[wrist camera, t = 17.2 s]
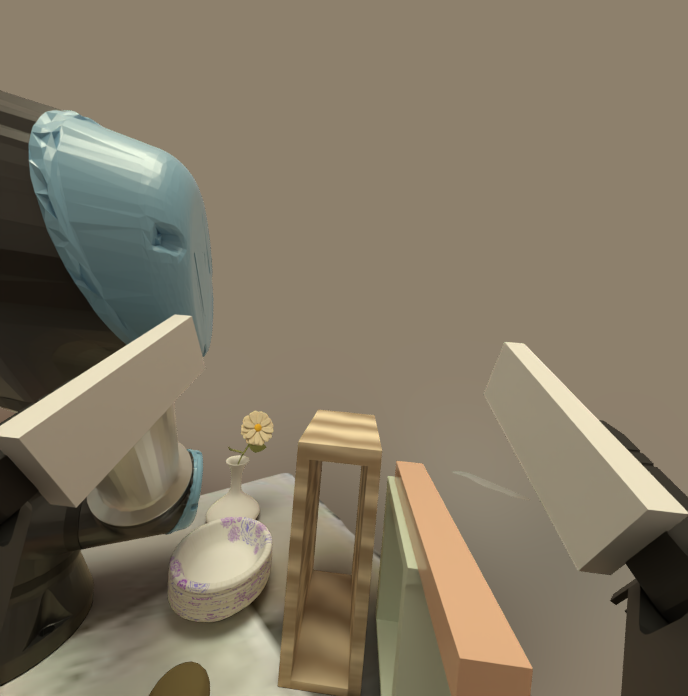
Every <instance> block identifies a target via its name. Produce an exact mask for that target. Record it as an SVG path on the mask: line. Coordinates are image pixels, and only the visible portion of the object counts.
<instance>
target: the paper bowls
mask: <svg viewBox="0 0 688 696" xmlns="http://www.w3.org/2000/svg"><path fill="white" fill-rule="evenodd" d="M272 545H273V542H272V537H271V534H270V531H269V530H268V528H267V527H266V526H265V525H264V524H262V523H261V522H259V521H257V520H254V519H251V518H247V517H227V518H222V519H218V520H215V521H212V522H209V523H207V524H204V525H202V526H200V527H199V528H197V529H195V530H194V531H192V532H191V533H190V534H188V535H187V536H186V537H185V538H184V539H183V540H182V541H181V542H180V543H179V544H178V546H177V547H176V549H175V550H174V552H173V554H172V556H171V558H170V563H169V572H168V573H169V575H168V601H169V604H170V606H171V608H172V609H173V611H174V612H175V613H176V614H178V615H179V616H181V617H182V618H185V619H186V620H188V619H189V620H191V621H196V622H215V621H220V620H223V619H226V618H228V617H230V616H232V615H233V614H235V613H237V612H239V611H240V610H242V609H243V608H245V607H246V606H248V605H249V604H250V603H251V602H253V601H254V600H255V599H256V598H257V597H258V596H259V594H260V593H261V592H262V590H263V588H264V587H265V585H266V583H267V581H268V578H269V574H270V569H271V560H272Z"/></svg>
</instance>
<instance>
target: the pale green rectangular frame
mask: <svg viewBox="0 0 688 696" xmlns="http://www.w3.org/2000/svg"><path fill="white" fill-rule="evenodd" d="M375 614H376V630H377V647H378V663H379V679H380V695H381V696H451V693H450V689H449V685H448V681H447V677H446V674H445V670H444V666H443V662H442V658H441V655H440V651H439V647H438V643H437V639H436V636H435V632H434V628H433V624H432V620H431V617H430V613H429V609H428V605H427V601H426V598H425V594H424V590H423V586H422V582H421V579H420V575H419V571H418V567H417V563H416V560H415V556H414V552H413V548H412V544H411V541H410V537H409V533H408V529H407V525H406V522H405V518H404V514H403V510H402V506H401V503H400V499H399V495H398V491H397V487H396V484H395V477H391V476H388V480H387V493H386V504H385V515H384V527H383V537H382V548H381V559H380V570H379V581H378V593H377V604H376V612H375Z"/></svg>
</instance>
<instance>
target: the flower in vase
mask: <svg viewBox="0 0 688 696" xmlns="http://www.w3.org/2000/svg"><path fill="white" fill-rule="evenodd" d="M241 428H242V429H241V435H244V436H243V438H244V439H246V443H249V444H248V446H247V448H248V447H250V449H251V450H252V451H253V452H255V453H256V452H260V451H262V450H264V449H265V448H266V446H265V445H264V443H265V441H266V442H268V440H269V438H271V437H272V433H273V429H272V428H273V423H272V422H271V419H270V418H268V415H267V414H266V413H263V412H262V411H260V412H258V411H254V412H252V413H250V414H249V416H246V417H244V420H243V425H242V426H241ZM249 445H250V446H249ZM228 448H229V447H228ZM247 448H246V449H245V451H244V452H241V451H238V450H233V449H231V448H229V450H231V451H235V452H239V453H243V454H242V455H240V456H239V455H238V456H232V457H230V458H228V459H227V460H226V463H227V464H228V466H229V468H230V472H231V486H230V490H229V492H228V493H227V494H226V495H225V496H223V497H222V498H220V499H219V500H217V501H216V502H215V503H214V504H213V505H212V506H211V507H210V508H209V510H208V512H207V514H206V522H207V523H209V522H212V521H215V520H218V519H222V518H227V517H247V518H251V519H254V520H255V519H256V518H257V516H258V515H259V512H260V508H259V505H258V503H257V501H256V500H255V499H253V498H252V497H251V496H249V495H247V494H245V493H244V492H243V491H242V489H241V480H242V474H243V471H244V468H245V466H246V464H247V463H248V462H249V460H250V459H249V458H248V457H246V456H243V455H244V453H245V452H246V450H247Z"/></svg>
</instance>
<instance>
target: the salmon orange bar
mask: <svg viewBox="0 0 688 696" xmlns="http://www.w3.org/2000/svg"><path fill="white" fill-rule="evenodd" d="M395 484H396V487H397V491H398V495H399V499H400V503H401V506H402V510H403V514H404V518H405V522H406V525H407V529H408V533H409V537H410V541H411V544H412V548H413V552H414V556H415V560H416V563H417V567H418V571H419V575H420V579H421V582H422V586H423V590H424V594H425V598H426V601H427V605H428V609H429V613H430V617H431V620H432V624H433V628H434V632H435V636H436V639H437V643H438V647H439V651H440V655H441V658H442V662H443V666H444V670H445V674H446V677H447V681H448V685H449V689H450V693H451V696H530V692H531V682H532V673H533V668H532V666H531V664H530V663H529V661H528V659H527V657H526V655H525V653H524V651H523V650H522V648H521V646H520V644H519V642H518V640H517V638H516V637H515V635H514V633H513V631H512V629H511V627H510V625H509V623H508V622H507V620H506V618H505V616H504V614H503V612H502V610H501V609H500V607H499V605H498V603H497V601H496V599H495V597H494V596H493V594H492V592H491V590H490V588H489V586H488V584H487V583H486V581H485V579H484V577H483V575H482V573H481V571H480V569H479V568H478V566H477V564H476V562H475V560H474V558H473V556H472V555H471V553H470V551H469V549H468V547H467V545H466V543H465V541H464V540H463V538H462V536H461V534H460V532H459V530H458V528H457V527H456V525H455V523H454V521H453V519H452V517H451V515H450V514H449V512H448V510H447V508H446V506H445V504H444V503H443V500H442V499H441V497H440V495H439V493H438V491H437V489H436V488H435V486H434V484H433V482H432V480H431V478H430V476H429V474H428V473H427V471H426V469H425V467H424V465H423V464H420V463H411V462H401V461H396V470H395Z"/></svg>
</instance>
